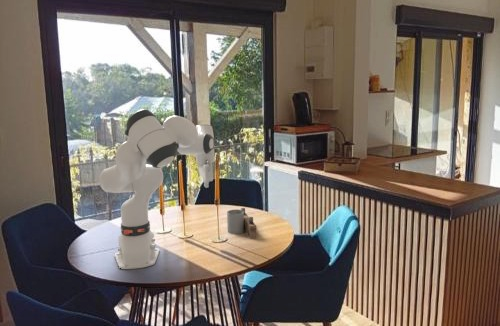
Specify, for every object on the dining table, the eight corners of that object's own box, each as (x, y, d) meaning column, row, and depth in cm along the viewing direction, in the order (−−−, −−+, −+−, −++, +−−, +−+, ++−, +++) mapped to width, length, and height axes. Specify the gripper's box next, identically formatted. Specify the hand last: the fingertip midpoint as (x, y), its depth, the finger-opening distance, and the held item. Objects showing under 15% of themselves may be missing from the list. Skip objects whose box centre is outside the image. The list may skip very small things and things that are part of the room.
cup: (247, 230, 200) (247, 211, 199) (237, 235, 194) (236, 215, 192) (234, 227, 206) (234, 208, 204) (224, 231, 199) (223, 212, 197)
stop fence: (256, 237, 190) (256, 219, 188) (250, 238, 189) (250, 220, 188) (244, 222, 213) (244, 206, 211) (238, 223, 212) (238, 206, 210)
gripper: (215, 161, 181) (216, 191, 183) (208, 155, 200) (209, 182, 202) (201, 162, 179) (203, 192, 181) (195, 156, 199) (197, 183, 201)
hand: (206, 187), depth 192 cm, fingers closed
